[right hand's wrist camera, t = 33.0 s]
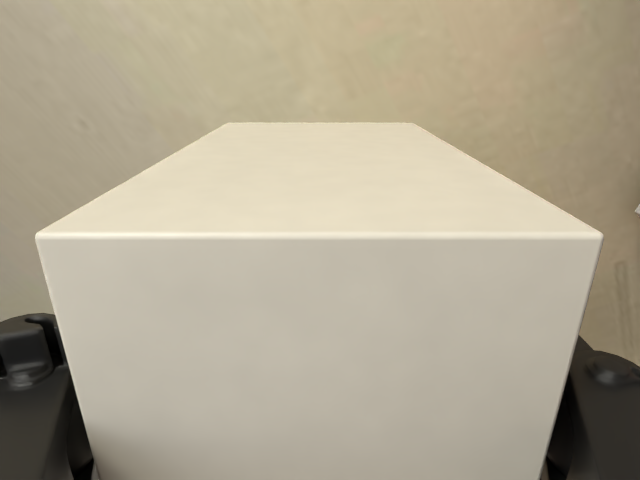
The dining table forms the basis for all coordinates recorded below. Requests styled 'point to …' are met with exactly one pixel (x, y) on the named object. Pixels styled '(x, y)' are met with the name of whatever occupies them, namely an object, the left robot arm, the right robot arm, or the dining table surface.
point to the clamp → (638, 210)
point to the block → (319, 310)
